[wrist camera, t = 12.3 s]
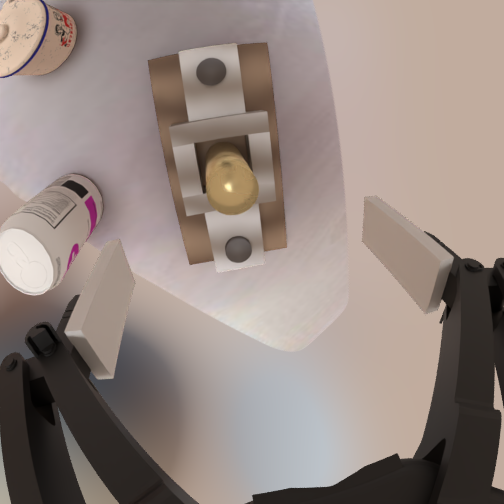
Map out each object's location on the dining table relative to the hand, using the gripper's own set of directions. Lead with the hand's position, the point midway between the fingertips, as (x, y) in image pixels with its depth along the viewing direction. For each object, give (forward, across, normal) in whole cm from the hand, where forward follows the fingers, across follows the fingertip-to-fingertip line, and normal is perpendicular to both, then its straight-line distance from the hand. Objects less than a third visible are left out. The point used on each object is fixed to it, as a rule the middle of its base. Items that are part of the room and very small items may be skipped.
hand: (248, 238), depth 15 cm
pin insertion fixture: (+22, 0, 0) cm, 22 cm away
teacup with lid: (+22, -20, +21) cm, 37 cm away
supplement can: (+22, -20, -2) cm, 30 cm away
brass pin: (+20, 0, 0) cm, 20 cm away
